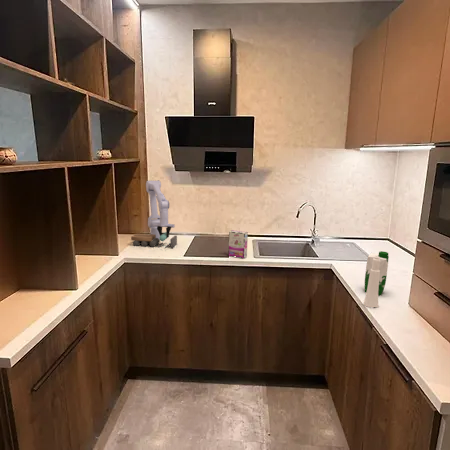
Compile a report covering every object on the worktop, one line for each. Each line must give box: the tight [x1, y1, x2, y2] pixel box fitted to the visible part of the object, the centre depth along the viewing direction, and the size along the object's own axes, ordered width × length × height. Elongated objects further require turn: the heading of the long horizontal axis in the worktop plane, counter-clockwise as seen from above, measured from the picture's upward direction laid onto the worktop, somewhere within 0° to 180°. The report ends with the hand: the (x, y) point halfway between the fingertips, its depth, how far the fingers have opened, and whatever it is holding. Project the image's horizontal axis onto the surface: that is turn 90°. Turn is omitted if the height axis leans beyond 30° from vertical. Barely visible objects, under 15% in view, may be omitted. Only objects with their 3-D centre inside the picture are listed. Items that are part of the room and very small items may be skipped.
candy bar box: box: [228, 229, 249, 259], centre depth 209 cm, size 11×5×16 cm, turn 62°
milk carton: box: [364, 250, 389, 296], centre depth 157 cm, size 9×9×20 cm
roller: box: [159, 231, 170, 242], centre depth 230 cm, size 10×4×4 cm, turn 172°
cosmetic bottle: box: [363, 256, 380, 309], centre depth 142 cm, size 6×6×22 cm
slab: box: [130, 233, 156, 241], centre depth 232 cm, size 10×14×2 cm
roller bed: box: [132, 238, 170, 249], centre depth 232 cm, size 10×24×4 cm, turn 83°
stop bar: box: [169, 235, 178, 249], centre depth 230 cm, size 11×2×6 cm, turn 173°
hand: (164, 237), depth 230 cm, fingers closed on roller, 4 cm apart
